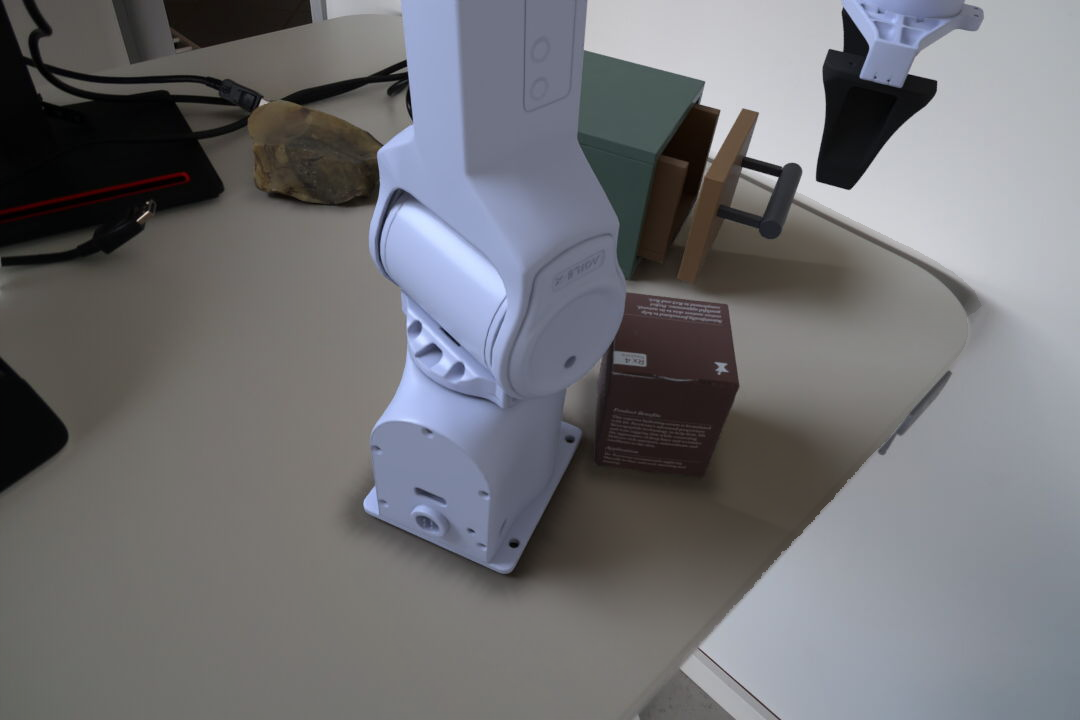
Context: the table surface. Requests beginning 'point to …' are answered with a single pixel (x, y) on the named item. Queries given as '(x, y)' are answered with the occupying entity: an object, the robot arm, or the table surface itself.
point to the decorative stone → (311, 154)
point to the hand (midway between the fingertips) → (840, 154)
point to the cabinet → (629, 135)
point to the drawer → (709, 189)
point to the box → (665, 386)
